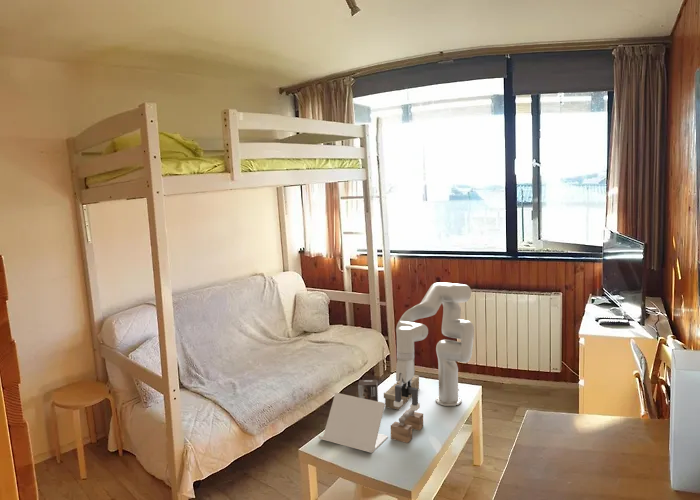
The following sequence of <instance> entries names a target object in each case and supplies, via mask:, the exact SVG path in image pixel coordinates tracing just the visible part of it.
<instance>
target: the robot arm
mask: <svg viewBox="0 0 700 500" xmlns="http://www.w3.org/2000/svg"><path fill="white" fill-rule="evenodd" d="M471 296H472V289H471V287H470V286H469V285H468V284H463V283H455V282H454V283H452V282H434V283H432V284H431V285H430V287H429V289H428V290H427V292H426V293H425V294H424V297H423V298H422V299H421V301H420V302H419V303H417V304H416V305H414V306H412V307H411V308H409V309H407V310H406V311H405V312H404V313H403V314H402V315H401V317H400V318H399V320H398V322H397V324H396V327H395V332H396V358H397V360H396V367H395V368H396V369H395V381H396V383H397V382H398V381H399V386H401V394H402V396H404V397H409V395H411V393H409V388H408V387H411V384H412V383H411V380H412V378H413V377H414V375H416V374H415V372H416V369H415V342H419V341H423V340H425V339H426V338H427V337H428V334H429V328H428V326H427V325H426V324H423V323H421V322H415V321H418V320H420V319H424V318H429V317H432V316H435V315H436V314H437V312H438V311H439V309H440V307H441V306H442V307H443V310H442V321H441V334H442V335H443V336H444V337H447V338H451V339H441V340H439V341H437V343H436V347H435V352H436V356H437V363H438V395H437V396H436V397H435V401H436V403H437V404H438V405H440V406H442V407H456V405H457V406H460V404H461V403H462V398H461V396H459V392H460V389H459V367H458V364H457V362H458V363H463V364H467V363H469V362H470V361H471V360H472V355H473V346H474V340H475V337H474V336H475V326H474V324H473V323H472V321H470V320H467V319H461V314H462V313H461V312H462V309H461V306H460V303H467V302H468V301H470V299H471ZM452 339H457V340H460V341H456V340H452ZM403 380H404V381H403ZM403 383H405V384H403Z"/></svg>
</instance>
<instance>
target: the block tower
mask: <svg viewBox="0 0 700 500" xmlns="http://www.w3.org/2000/svg"><path fill="white" fill-rule="evenodd" d="M403 381H404V380H403ZM411 383H412V384H411V387H412V388H418V389H419V390H420V375H417V374H414V377H413V378H412V380H411ZM403 384H405V383H403ZM396 385H399V381H398V382H397V381H396V383H394V384H393V385H392V386H391V387H390V388H389V389H387V390H386V391H385V392H383V399H384V404H385V407H384V408H387V409H392V410H396V411H397V410H401V408H403V407H404V405H405V404H406V403H407V402H408V401H409V400H410V399H412V394H411V395H409V397H404V396H402V394H401V400H403V405H402V406H400V407H395V406H394V401H395V386H396Z"/></svg>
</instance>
